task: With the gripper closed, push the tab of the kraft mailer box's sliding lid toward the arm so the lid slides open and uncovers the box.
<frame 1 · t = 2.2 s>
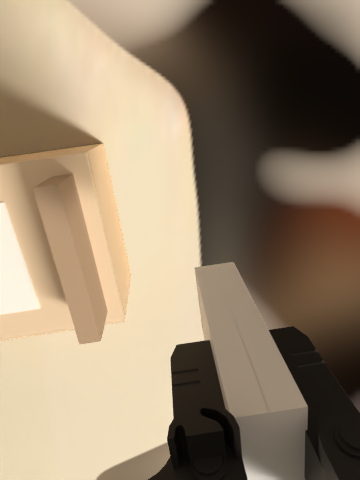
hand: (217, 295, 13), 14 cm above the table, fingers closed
mailer box: (30, 227, 25), on the table
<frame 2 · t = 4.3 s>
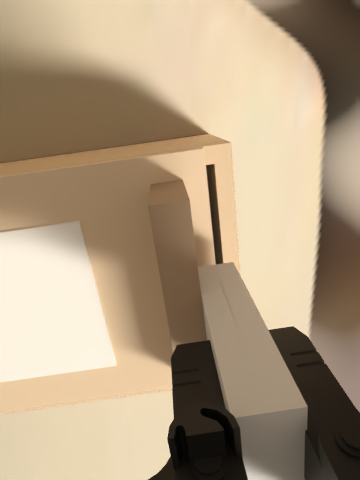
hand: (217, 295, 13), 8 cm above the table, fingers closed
mailer box: (104, 243, 20), on the table
lid: (43, 323, 12), point 8 cm above the table, slide at 1.1 cm, touching gripper
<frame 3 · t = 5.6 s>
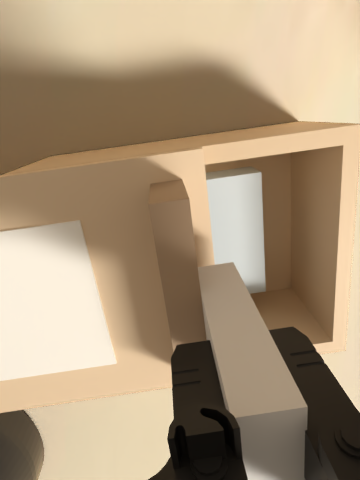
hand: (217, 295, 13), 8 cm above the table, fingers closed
mailer box: (187, 230, 20), on the table
lid: (43, 321, 13), point 8 cm above the table, slide at 6.3 cm, touching gripper
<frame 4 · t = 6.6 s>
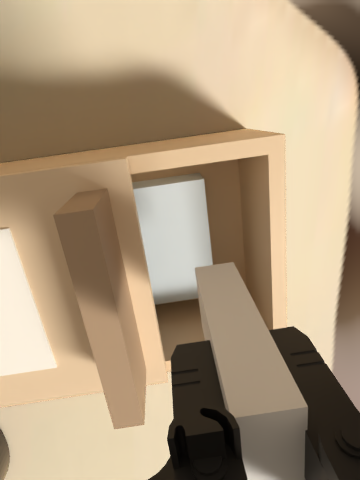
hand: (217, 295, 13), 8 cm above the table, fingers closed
mailer box: (141, 235, 20), on the table
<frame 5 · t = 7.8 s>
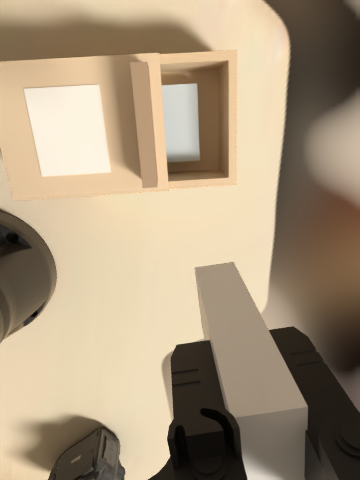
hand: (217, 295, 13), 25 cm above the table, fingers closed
camera: (93, 451, 51), on the table
mailer box: (157, 125, 34), on the table
lid: (77, 132, 26), point 8 cm above the table, slide at 6.3 cm
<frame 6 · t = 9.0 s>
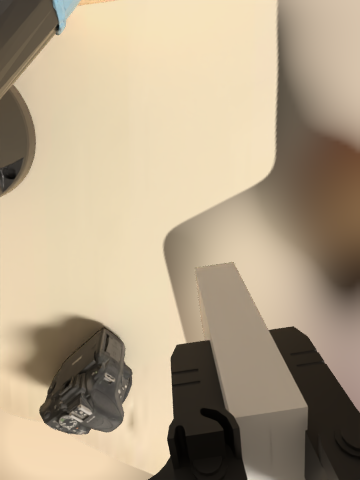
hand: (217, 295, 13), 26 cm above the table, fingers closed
camera: (96, 360, 46), on the table
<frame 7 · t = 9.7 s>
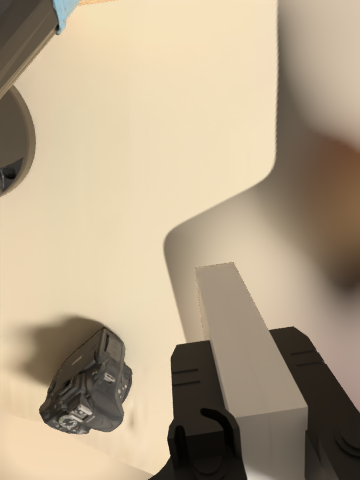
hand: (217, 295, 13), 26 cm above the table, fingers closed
camera: (96, 360, 46), on the table
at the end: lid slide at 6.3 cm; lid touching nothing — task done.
